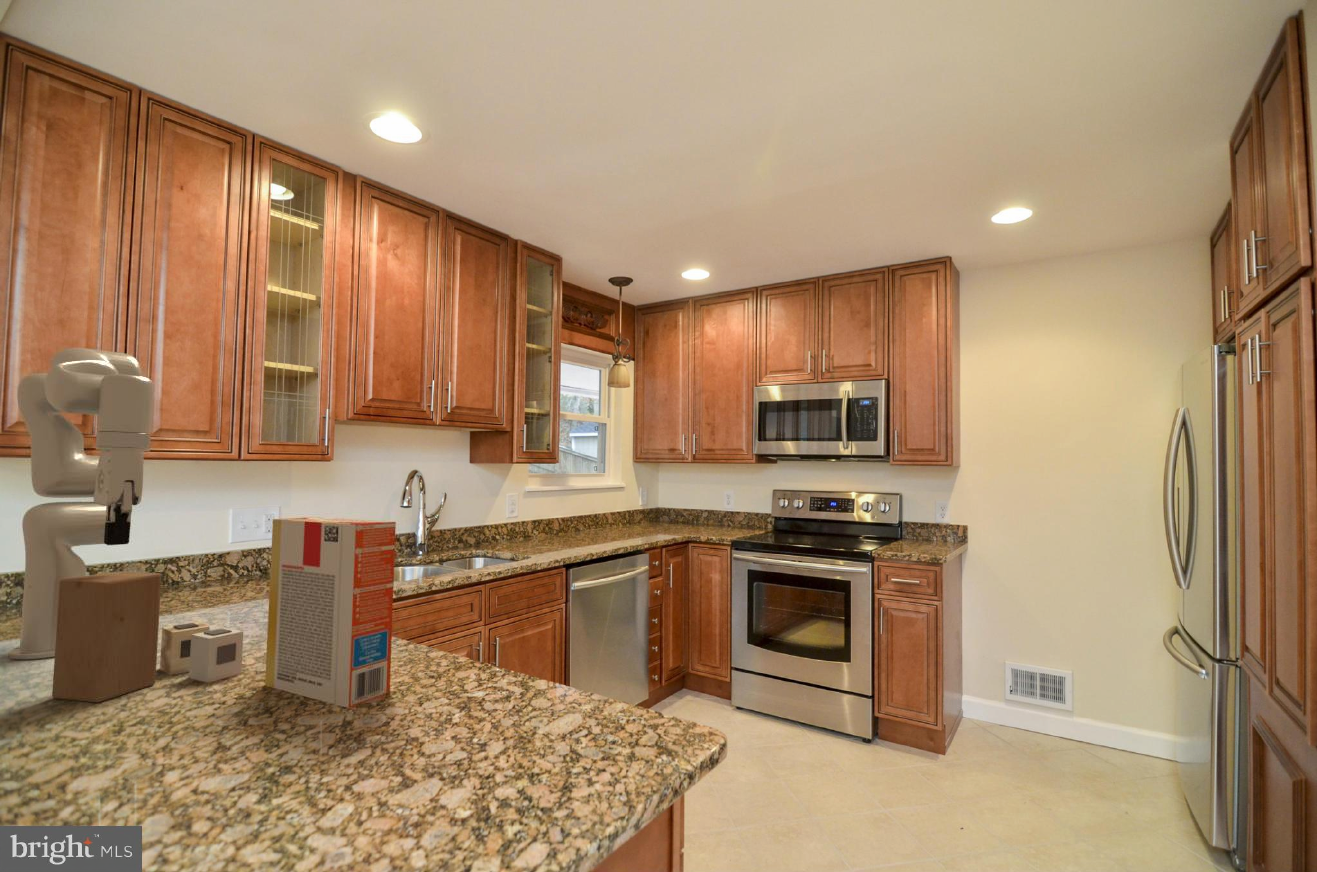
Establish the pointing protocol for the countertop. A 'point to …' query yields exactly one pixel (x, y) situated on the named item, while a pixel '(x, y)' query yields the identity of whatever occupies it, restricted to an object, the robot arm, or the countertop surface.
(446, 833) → the countertop surface
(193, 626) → the marked beech block
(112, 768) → the countertop surface
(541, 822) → the countertop surface
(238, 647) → the marked grey block
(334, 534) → the pasta box
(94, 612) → the wooden block
